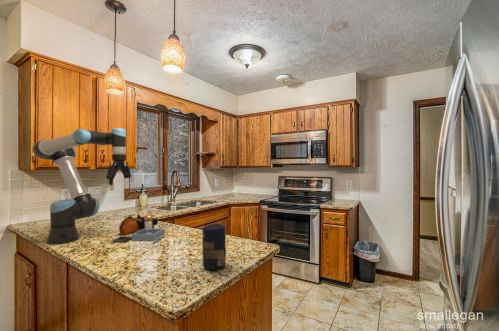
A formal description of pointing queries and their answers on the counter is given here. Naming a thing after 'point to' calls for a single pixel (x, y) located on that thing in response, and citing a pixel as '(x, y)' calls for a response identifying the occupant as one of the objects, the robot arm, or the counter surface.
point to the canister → (214, 246)
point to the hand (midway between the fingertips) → (119, 189)
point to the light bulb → (148, 224)
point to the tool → (134, 225)
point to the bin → (148, 235)
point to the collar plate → (121, 240)
